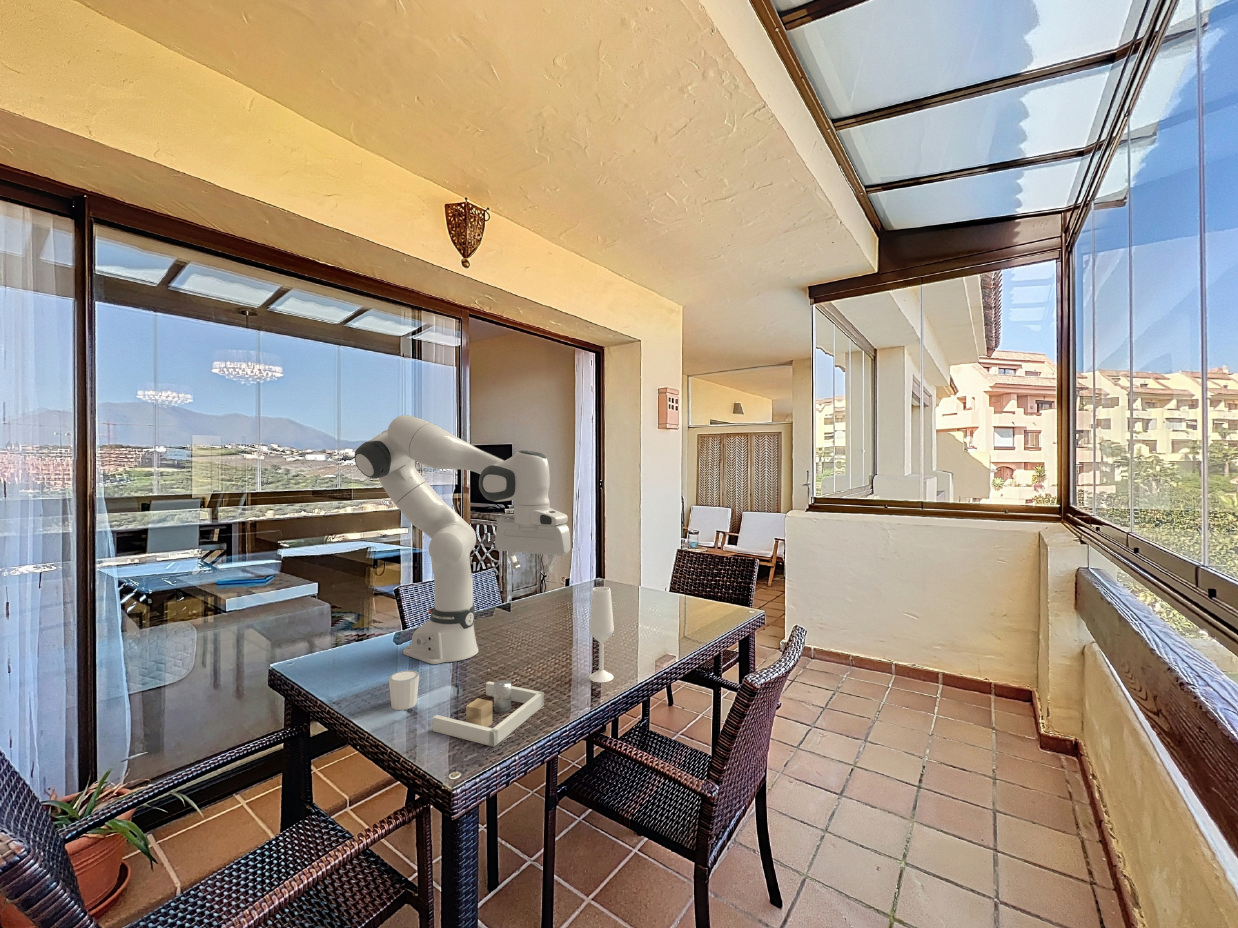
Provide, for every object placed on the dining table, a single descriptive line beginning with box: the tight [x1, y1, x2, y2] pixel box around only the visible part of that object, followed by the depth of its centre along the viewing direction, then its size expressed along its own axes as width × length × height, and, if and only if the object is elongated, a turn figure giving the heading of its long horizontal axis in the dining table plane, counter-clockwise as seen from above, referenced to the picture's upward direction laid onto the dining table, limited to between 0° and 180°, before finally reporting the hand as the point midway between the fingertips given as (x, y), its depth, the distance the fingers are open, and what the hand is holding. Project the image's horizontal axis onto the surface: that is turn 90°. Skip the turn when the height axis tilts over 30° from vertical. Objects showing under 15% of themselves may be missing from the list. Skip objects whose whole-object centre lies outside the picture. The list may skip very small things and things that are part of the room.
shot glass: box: [388, 669, 420, 711], centre depth 128 cm, size 7×7×7 cm
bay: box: [432, 681, 545, 747], centre depth 122 cm, size 16×20×3 cm
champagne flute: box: [588, 586, 615, 683], centre depth 144 cm, size 7×7×24 cm
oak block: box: [465, 697, 493, 728], centre depth 118 cm, size 4×4×5 cm
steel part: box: [493, 679, 512, 714], centre depth 126 cm, size 4×4×6 cm
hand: (531, 570), depth 133 cm, fingers open, 8 cm apart
